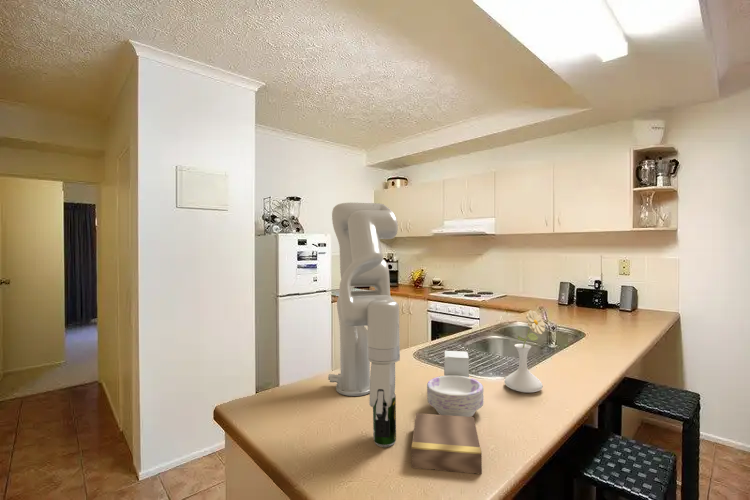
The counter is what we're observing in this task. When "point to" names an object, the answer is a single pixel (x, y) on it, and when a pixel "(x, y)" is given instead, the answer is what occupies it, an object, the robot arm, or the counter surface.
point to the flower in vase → (522, 376)
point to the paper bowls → (455, 395)
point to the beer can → (392, 416)
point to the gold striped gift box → (446, 443)
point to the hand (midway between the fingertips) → (384, 429)
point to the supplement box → (456, 363)
